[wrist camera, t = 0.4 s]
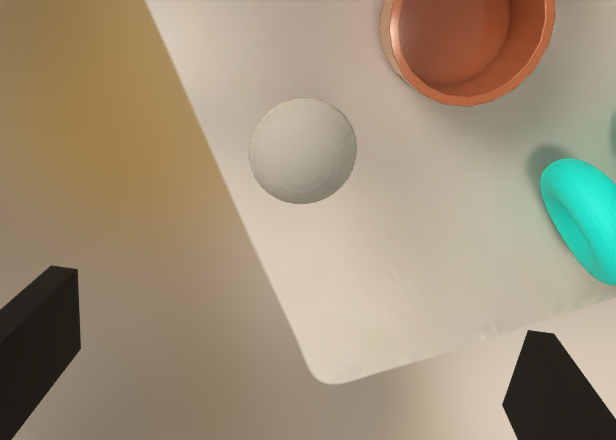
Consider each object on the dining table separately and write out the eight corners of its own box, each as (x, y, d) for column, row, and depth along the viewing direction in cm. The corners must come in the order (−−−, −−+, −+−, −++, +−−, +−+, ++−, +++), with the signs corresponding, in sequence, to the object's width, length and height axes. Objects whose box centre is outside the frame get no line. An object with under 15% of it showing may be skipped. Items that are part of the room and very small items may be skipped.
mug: (416, 115, 40) (433, 133, 33) (355, -2, 37) (360, -7, 30) (581, 22, 37) (636, 21, 30) (530, -113, 34) (578, -146, 27)
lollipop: (303, 167, 41) (289, 240, 27) (256, 110, 40) (217, 157, 26) (364, 120, 40) (383, 173, 26) (318, 59, 38) (311, 80, 24)
